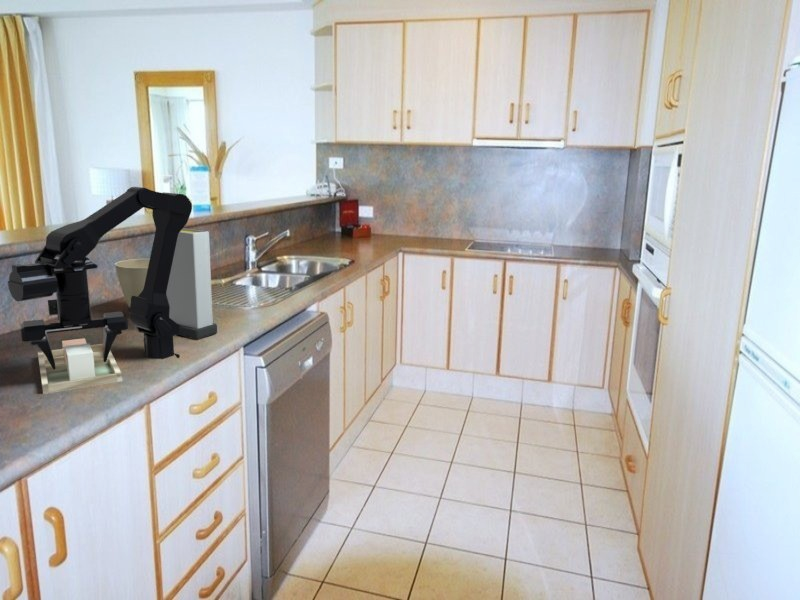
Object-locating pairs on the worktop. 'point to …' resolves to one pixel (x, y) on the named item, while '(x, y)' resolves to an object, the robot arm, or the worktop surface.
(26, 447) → the worktop surface
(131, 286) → the plant pot
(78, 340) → the terracotta block
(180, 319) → the container
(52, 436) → the worktop surface
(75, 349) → the block
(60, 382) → the slot cradle
